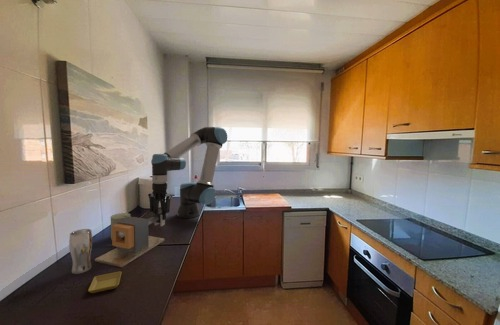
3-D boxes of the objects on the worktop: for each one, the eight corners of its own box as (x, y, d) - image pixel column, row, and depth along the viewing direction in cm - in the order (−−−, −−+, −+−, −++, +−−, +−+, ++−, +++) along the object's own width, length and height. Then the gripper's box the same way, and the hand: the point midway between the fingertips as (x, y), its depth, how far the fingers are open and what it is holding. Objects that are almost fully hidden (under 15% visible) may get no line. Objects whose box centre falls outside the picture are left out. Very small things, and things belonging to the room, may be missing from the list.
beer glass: (74, 266, 85) (72, 229, 84) (95, 263, 88) (94, 227, 86) (67, 276, 78) (65, 237, 77) (90, 272, 81) (89, 234, 80)
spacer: (118, 242, 97) (117, 223, 96) (134, 245, 94) (134, 226, 93) (112, 245, 94) (111, 225, 93) (128, 248, 91) (128, 228, 91)
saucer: (87, 297, 69) (87, 291, 69) (94, 281, 77) (94, 275, 77) (118, 290, 72) (118, 284, 72) (122, 276, 80) (122, 270, 80)
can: (121, 241, 107) (121, 218, 107) (106, 239, 109) (105, 216, 108) (134, 234, 116) (134, 212, 116) (120, 232, 118) (120, 211, 117)
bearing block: (142, 236, 114) (142, 210, 113) (164, 240, 110) (164, 214, 109) (94, 261, 89) (94, 228, 88) (121, 267, 85) (121, 233, 84)
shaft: (159, 219, 119) (159, 211, 118) (164, 220, 118) (164, 211, 117) (117, 239, 93) (117, 228, 92) (123, 240, 92) (123, 229, 92)
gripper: (142, 182, 113) (142, 225, 115) (168, 184, 109) (167, 229, 111) (152, 180, 121) (152, 220, 122) (176, 182, 116) (176, 224, 118)
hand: (159, 224), depth 117 cm, fingers closed on shaft, 3 cm apart
